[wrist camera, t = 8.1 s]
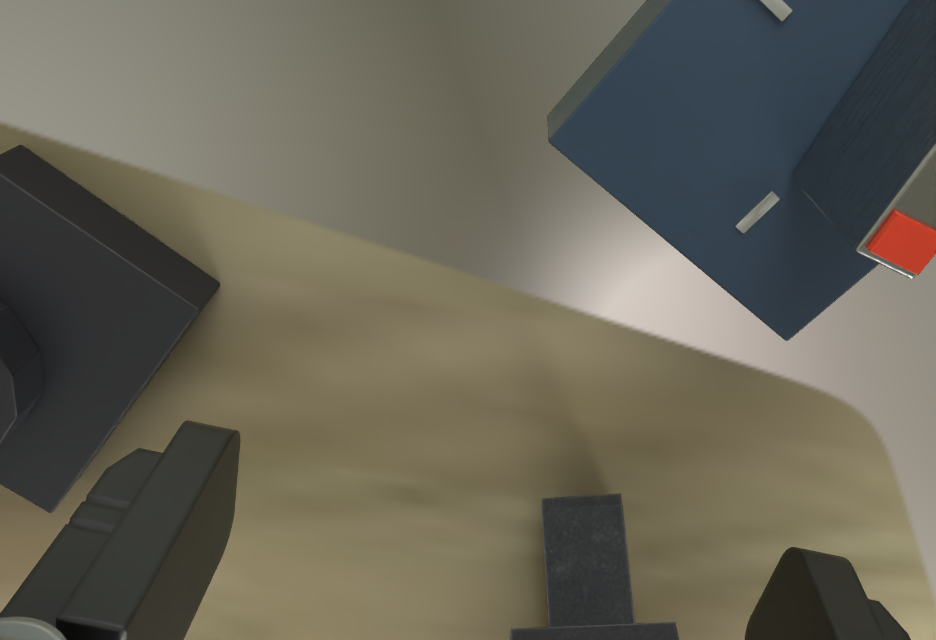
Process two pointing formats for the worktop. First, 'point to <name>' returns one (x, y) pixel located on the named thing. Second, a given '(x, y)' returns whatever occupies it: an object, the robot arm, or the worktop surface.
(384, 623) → the worktop surface
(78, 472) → the button box
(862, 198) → the silver and red block
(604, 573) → the tool
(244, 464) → the worktop surface
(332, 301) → the worktop surface
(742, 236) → the dial base
